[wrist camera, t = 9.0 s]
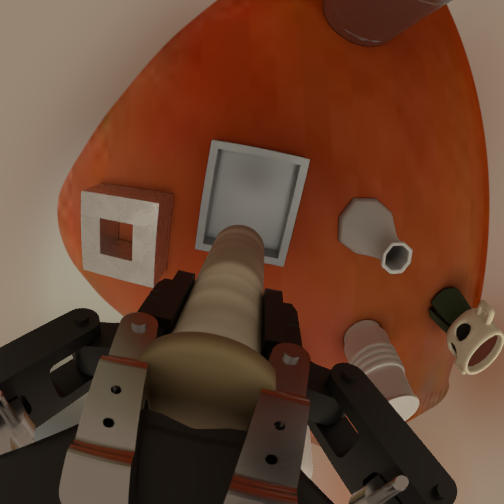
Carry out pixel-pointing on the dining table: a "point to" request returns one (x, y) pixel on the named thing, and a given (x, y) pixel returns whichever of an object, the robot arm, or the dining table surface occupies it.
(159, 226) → the hitch block
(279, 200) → the tray
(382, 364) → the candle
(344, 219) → the flask
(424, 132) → the dining table surface
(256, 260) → the pin
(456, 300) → the character mug
